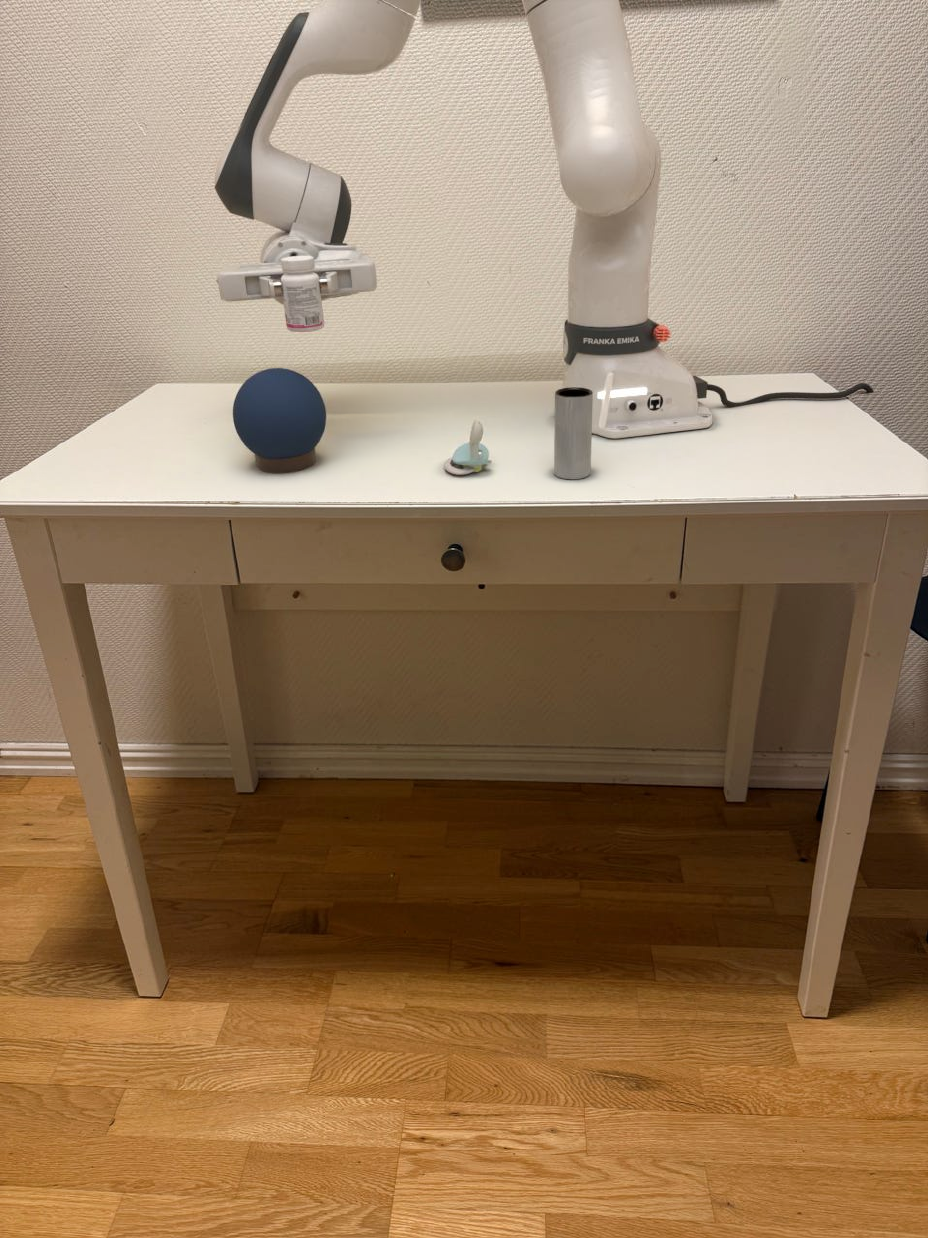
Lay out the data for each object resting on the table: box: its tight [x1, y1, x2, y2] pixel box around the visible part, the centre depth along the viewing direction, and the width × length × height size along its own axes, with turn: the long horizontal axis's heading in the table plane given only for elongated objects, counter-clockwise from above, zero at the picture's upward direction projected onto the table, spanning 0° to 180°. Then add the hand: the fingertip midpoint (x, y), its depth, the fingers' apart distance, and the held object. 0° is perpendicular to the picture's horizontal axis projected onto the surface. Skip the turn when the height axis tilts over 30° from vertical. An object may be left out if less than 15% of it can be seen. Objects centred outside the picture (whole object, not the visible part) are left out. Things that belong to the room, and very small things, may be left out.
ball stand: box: [254, 447, 317, 474], centre depth 122 cm, size 8×8×2 cm
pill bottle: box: [281, 256, 325, 333], centre depth 113 cm, size 5×5×8 cm
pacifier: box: [443, 419, 492, 476], centre depth 116 cm, size 7×6×6 cm
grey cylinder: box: [553, 387, 593, 480], centre depth 112 cm, size 4×4×10 cm
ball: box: [232, 367, 327, 459], centre depth 119 cm, size 12×12×12 cm
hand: (301, 288), depth 112 cm, fingers closed on pill bottle, 5 cm apart
